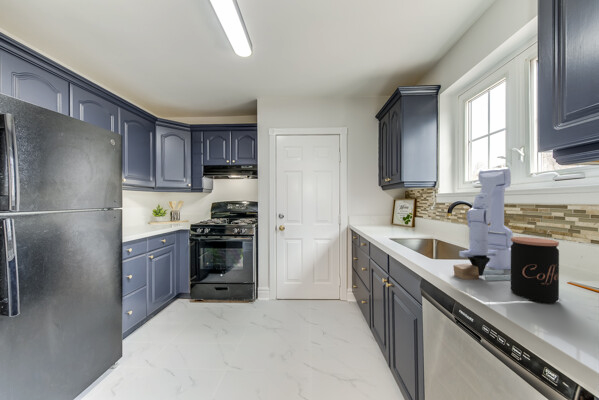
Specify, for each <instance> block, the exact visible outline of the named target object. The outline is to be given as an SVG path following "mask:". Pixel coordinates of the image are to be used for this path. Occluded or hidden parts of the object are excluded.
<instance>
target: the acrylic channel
mask: <svg viewBox="0 0 599 400" xmlns="http://www.w3.org/2000/svg"><path fill="white" fill-rule="evenodd" d="M504 270H505V269H484V272H483V275H482V276H479V279H480V280H484V281H511V274H510V275H506V274H505V275H503V274H504V273H505V272H504Z"/></svg>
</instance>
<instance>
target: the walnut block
mask: <svg viewBox="0 0 599 400" xmlns="http://www.w3.org/2000/svg"><path fill="white" fill-rule="evenodd" d="M452 266H453V273H454V276H455V277H458V278H459V279H462V280H480V278H479V271H478V267H476V266H474V265H472V264H471V263H462V264H453V265H452Z"/></svg>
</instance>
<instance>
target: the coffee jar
mask: <svg viewBox="0 0 599 400" xmlns="http://www.w3.org/2000/svg"><path fill="white" fill-rule="evenodd" d="M511 241H512V242H513V244H512V245H511V269H510V275H511V280H510V291H511V292H512V294H514V295H516V296H518V297H521V298H523V299H526V300H527V301H528V302H532V303H538V304H547V305H553V304H556V302H558V301H559V299H560V298H559V297H560V293H559V292H560V250H559V249H558V248H557V247H558V246H559V244H560V241H558V240H555V239H554V240H553V239H547V238H541V237H539V238H538V237H531V236H530V237H527V236H513V237H512V238H511Z"/></svg>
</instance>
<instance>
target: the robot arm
mask: <svg viewBox="0 0 599 400" xmlns="http://www.w3.org/2000/svg"><path fill="white" fill-rule="evenodd" d="M477 177H478V181H479V183H480V185H481V188H480V193H478V194H476V196H475V198H474V201H473V204H472V207H471V208H470V209H468V210H467V212H466V221H467V227H468V228H469V230H468V231H469V232H468V233H469V241H468V242H469V243H468V244H469V246H468V247H469V248H468V249H465V250H461V251H460V250H459V254H458V255H459V257H461V258H466V257H467V259H468V260H469V262H470V264H471V265H474V266H476V267H478V271H479V276H482V275H483V272H484V270H486V267H489V268H492V269H494V270H511V245H512V244H513V242H512V241H511V238H512V237H514V235H513V234H514V233H513V230H512V229H510V227H508V226H506V225H505V192H506V189H508V188H510V187H511V180H512V179H511V178H512V176H511V169H510V168H509V167H501V168H490V169H489V168H488V169H480V170H479V171H478V176H477ZM489 224H490V225H489Z"/></svg>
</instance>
